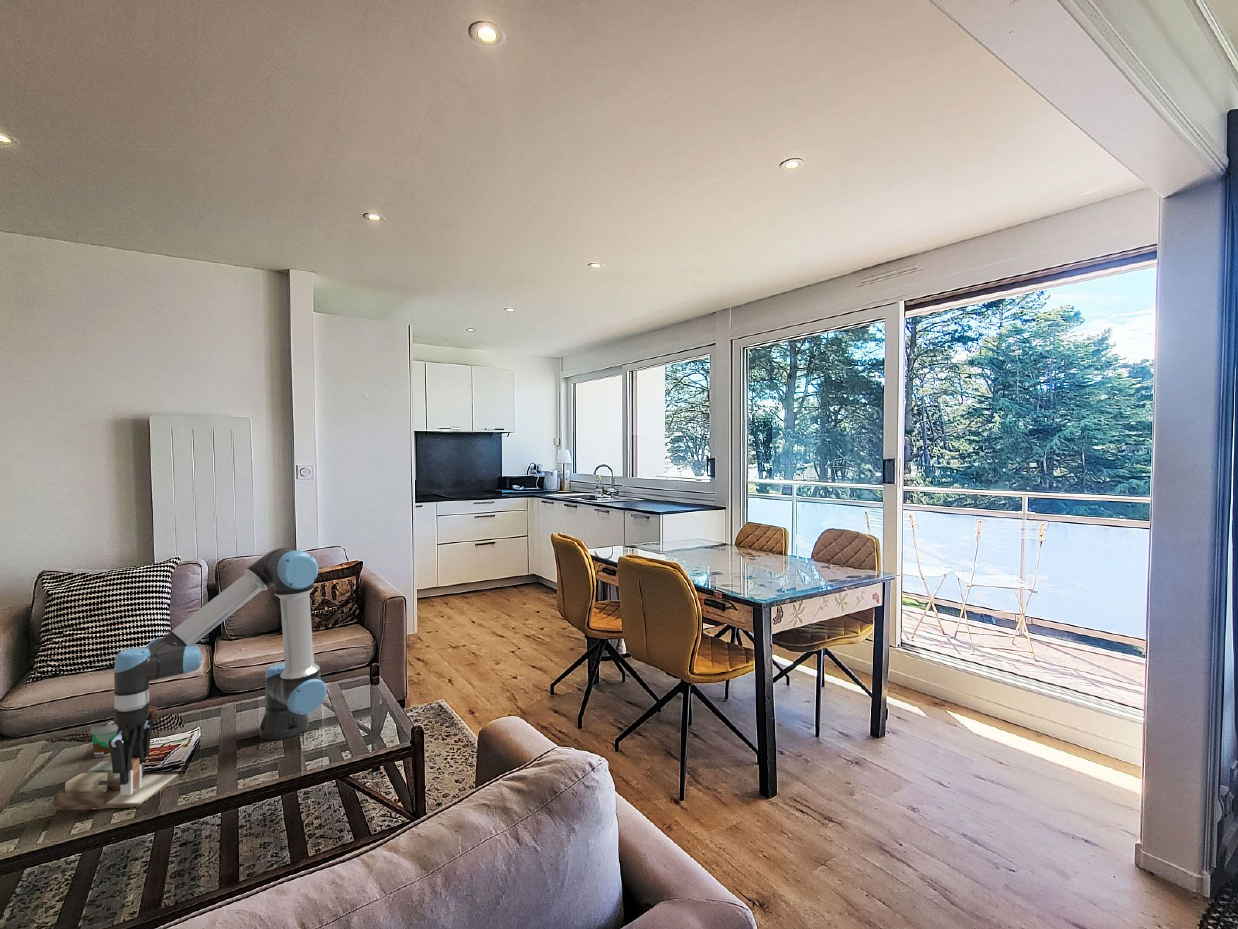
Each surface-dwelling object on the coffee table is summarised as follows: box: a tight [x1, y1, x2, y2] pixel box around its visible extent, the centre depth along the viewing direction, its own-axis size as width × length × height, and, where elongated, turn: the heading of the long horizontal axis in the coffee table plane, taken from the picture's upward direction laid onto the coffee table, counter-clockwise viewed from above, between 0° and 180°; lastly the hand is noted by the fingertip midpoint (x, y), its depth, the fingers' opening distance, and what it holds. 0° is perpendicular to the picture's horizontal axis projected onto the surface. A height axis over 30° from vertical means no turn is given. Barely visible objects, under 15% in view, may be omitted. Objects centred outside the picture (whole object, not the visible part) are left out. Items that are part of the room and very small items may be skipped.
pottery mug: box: [146, 705, 159, 724], centre depth 208 cm, size 12×10×8 cm
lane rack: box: [53, 760, 180, 811], centre depth 166 cm, size 22×15×6 cm
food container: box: [89, 719, 118, 756], centre depth 190 cm, size 12×6×10 cm, turn 168°
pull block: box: [64, 758, 140, 793], centre depth 162 cm, size 16×5×10 cm, turn 93°
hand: (131, 791), depth 162 cm, fingers closed on pull block, 2 cm apart
